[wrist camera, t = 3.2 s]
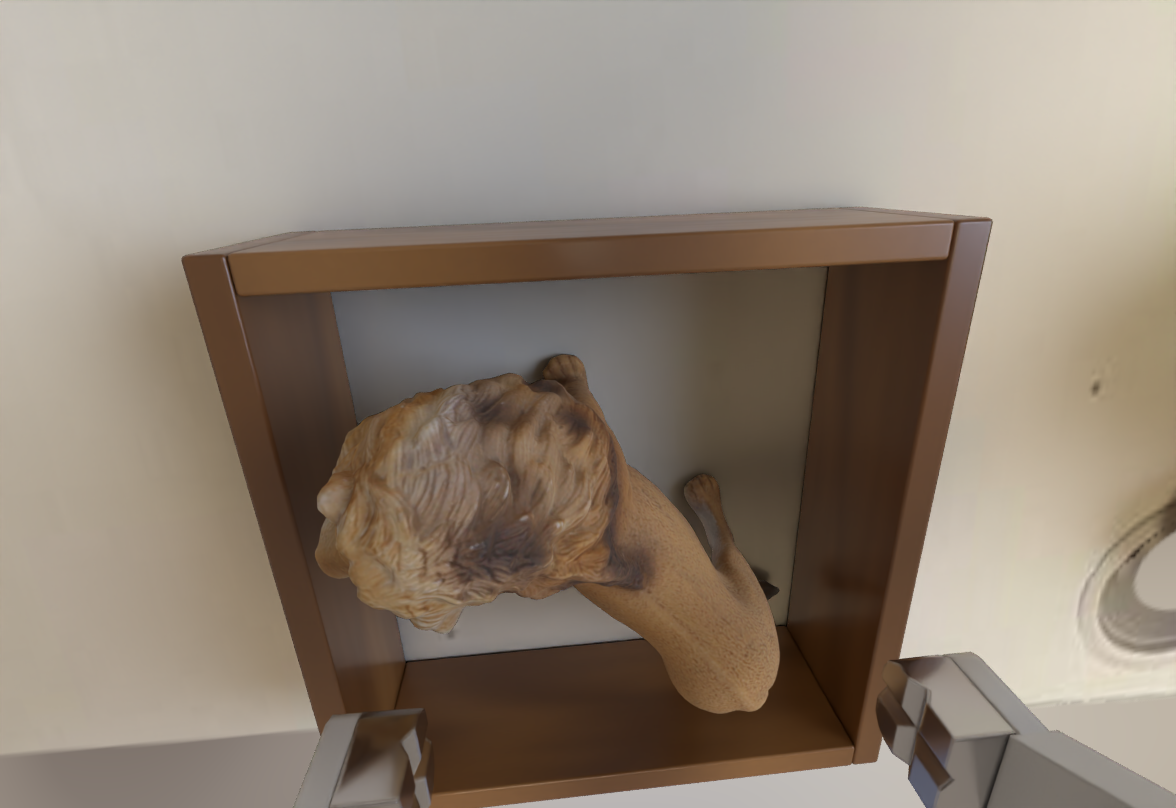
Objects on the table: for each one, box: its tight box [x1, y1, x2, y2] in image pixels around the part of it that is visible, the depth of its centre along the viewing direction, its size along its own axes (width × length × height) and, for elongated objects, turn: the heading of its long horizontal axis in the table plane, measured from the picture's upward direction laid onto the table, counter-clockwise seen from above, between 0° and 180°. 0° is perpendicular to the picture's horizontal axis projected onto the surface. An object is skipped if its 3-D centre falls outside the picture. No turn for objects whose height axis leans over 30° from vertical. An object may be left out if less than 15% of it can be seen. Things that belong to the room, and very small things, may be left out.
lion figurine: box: [315, 355, 780, 714], centre depth 14 cm, size 15×5×9 cm, turn 53°
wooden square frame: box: [182, 207, 993, 808], centre depth 16 cm, size 16×16×5 cm
